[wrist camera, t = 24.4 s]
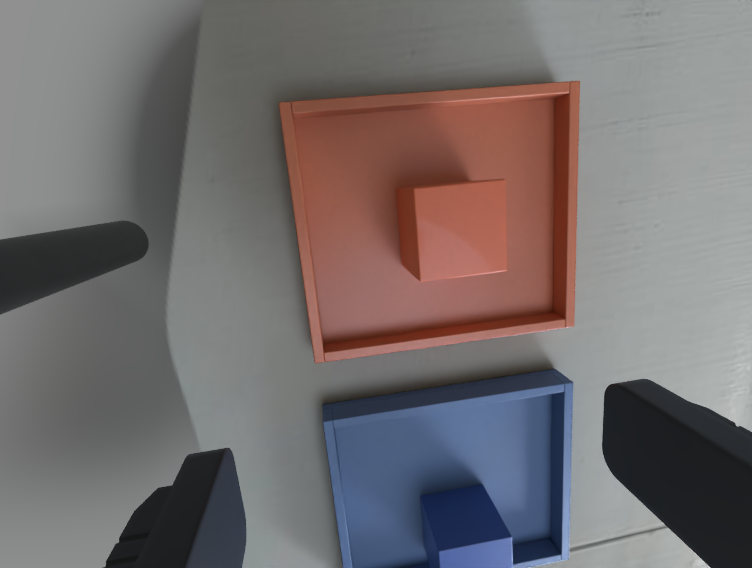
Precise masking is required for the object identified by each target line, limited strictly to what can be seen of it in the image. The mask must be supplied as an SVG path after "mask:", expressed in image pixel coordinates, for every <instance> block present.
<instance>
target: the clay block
mask: <svg viewBox="0 0 752 568" xmlns="http://www.w3.org/2000/svg"><path fill="white" fill-rule="evenodd" d="M396 199H397V211H398V223H399V236H400V248H401V260H402V266H403V267H404V268H405V269H407V270H408V271H409V272H410V273H411V274H412V275H413V276H414V277H415V278H416V279H418V280H419V281H420V282H425V281H433V280H441V279H449V278H457V277H465V276H473V275H481V274H489V273H497V272H505V271H507V231H506V181H505V179H490V180H474V181H463V182H453V183H442V184H432V185H422V186H412V187H402V188H396Z"/></svg>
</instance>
